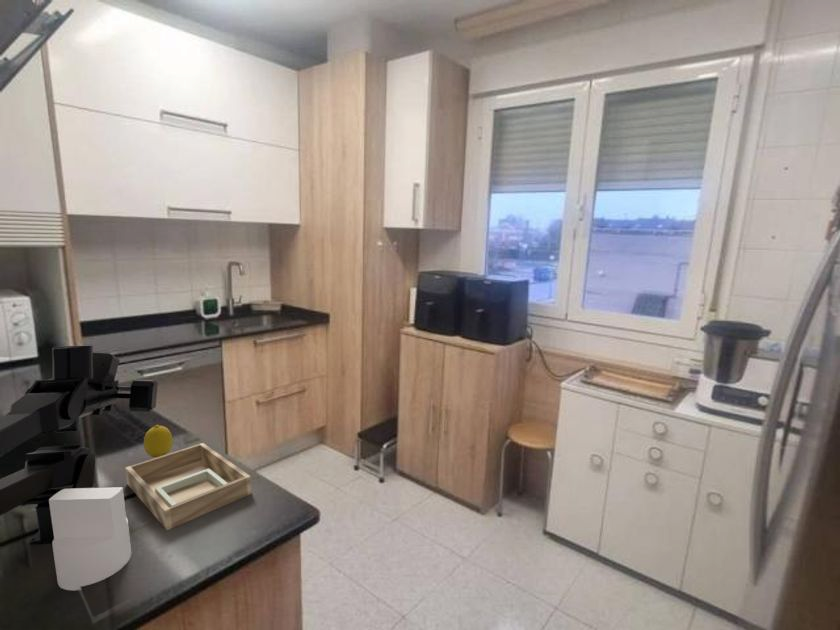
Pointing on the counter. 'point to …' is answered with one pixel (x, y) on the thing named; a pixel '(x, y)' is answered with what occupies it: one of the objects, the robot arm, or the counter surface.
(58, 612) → the counter surface
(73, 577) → the grey upright block
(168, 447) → the lemon
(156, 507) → the walled box
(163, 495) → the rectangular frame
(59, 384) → the robot arm
